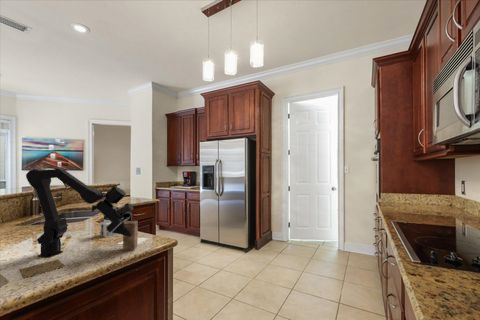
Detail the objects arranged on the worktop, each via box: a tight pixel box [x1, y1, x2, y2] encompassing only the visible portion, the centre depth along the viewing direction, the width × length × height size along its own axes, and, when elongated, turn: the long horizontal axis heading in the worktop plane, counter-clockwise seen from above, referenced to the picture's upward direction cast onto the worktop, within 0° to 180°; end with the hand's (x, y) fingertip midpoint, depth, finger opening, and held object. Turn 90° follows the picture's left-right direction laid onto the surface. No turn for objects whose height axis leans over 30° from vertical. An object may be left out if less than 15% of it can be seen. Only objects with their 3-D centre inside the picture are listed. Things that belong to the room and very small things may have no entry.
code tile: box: [117, 237, 149, 246], centre depth 117 cm, size 11×11×1 cm
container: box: [99, 215, 119, 238], centre depth 129 cm, size 8×8×13 cm
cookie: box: [19, 258, 66, 280], centre depth 87 cm, size 12×12×1 cm
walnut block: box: [122, 220, 139, 252], centre depth 106 cm, size 5×5×13 cm
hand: (133, 232), depth 106 cm, fingers open, 9 cm apart
